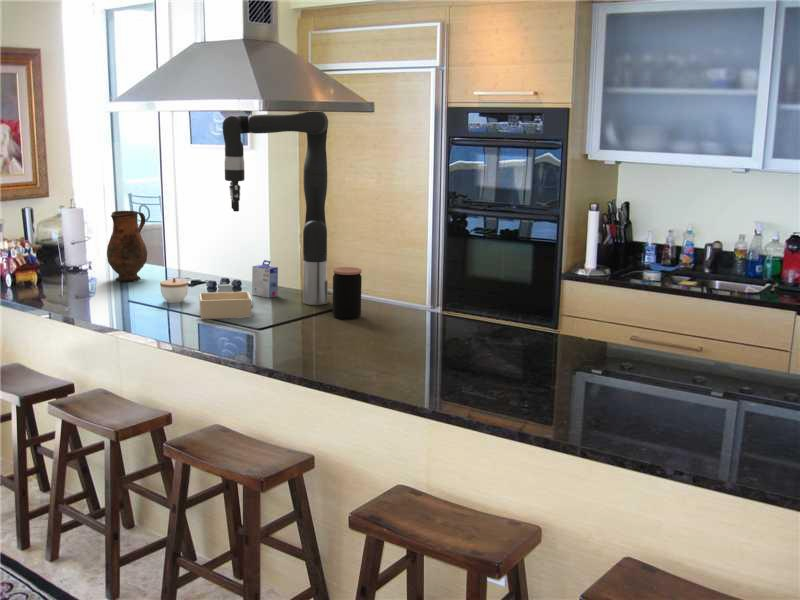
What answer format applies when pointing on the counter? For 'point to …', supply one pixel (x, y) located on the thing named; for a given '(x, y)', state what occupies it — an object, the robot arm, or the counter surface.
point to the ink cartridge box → (265, 280)
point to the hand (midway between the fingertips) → (235, 210)
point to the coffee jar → (347, 293)
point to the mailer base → (225, 305)
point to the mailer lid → (227, 289)
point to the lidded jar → (174, 290)
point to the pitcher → (127, 246)
